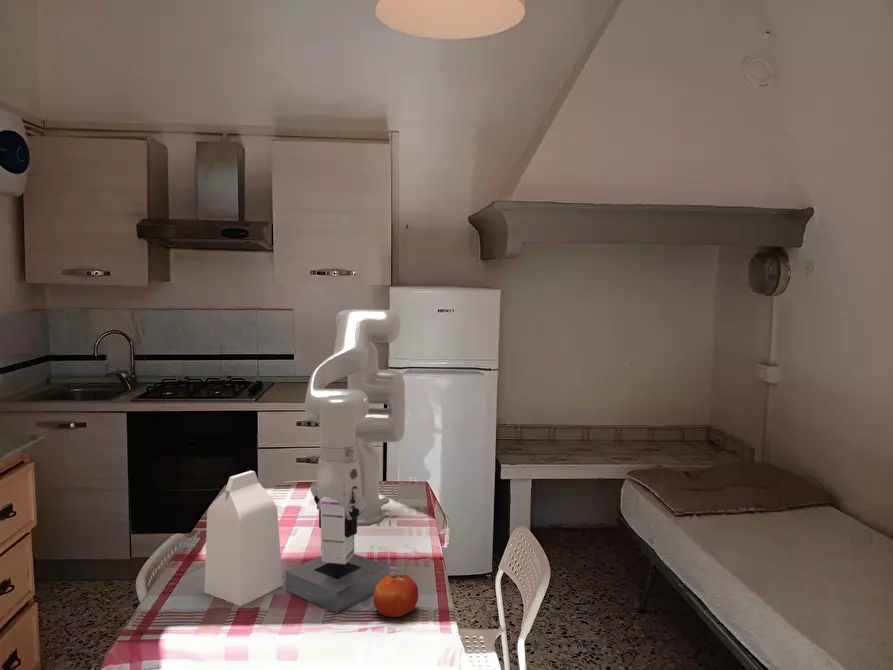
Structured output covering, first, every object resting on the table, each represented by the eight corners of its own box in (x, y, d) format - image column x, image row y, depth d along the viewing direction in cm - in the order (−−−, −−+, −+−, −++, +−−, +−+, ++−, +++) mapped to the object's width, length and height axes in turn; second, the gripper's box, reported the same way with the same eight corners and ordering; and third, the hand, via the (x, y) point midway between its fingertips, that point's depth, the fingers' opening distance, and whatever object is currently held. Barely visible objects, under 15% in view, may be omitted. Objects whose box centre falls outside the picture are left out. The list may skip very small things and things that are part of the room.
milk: (240, 607, 144) (239, 486, 142) (204, 592, 150) (202, 476, 148) (282, 585, 154) (281, 472, 152) (247, 572, 161) (245, 463, 158)
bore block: (338, 566, 164) (338, 548, 164) (388, 585, 155) (388, 566, 154) (285, 590, 152) (285, 571, 151) (337, 613, 142) (337, 592, 142)
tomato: (369, 622, 139) (370, 584, 138) (376, 600, 148) (377, 564, 147) (415, 624, 138) (416, 586, 138) (419, 602, 148) (420, 566, 147)
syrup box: (345, 565, 149) (346, 500, 148) (320, 562, 150) (320, 497, 149) (354, 554, 155) (354, 491, 153) (329, 551, 156) (329, 489, 155)
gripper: (379, 455, 148) (378, 535, 150) (322, 442, 158) (323, 517, 160) (354, 463, 142) (354, 546, 144) (297, 449, 152) (298, 526, 154)
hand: (337, 530), depth 152 cm, fingers closed on syrup box, 7 cm apart
